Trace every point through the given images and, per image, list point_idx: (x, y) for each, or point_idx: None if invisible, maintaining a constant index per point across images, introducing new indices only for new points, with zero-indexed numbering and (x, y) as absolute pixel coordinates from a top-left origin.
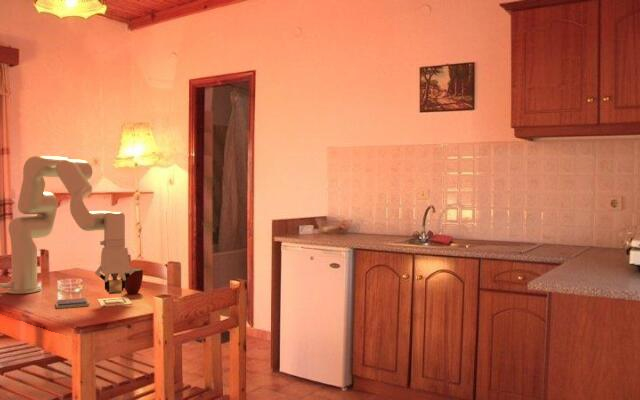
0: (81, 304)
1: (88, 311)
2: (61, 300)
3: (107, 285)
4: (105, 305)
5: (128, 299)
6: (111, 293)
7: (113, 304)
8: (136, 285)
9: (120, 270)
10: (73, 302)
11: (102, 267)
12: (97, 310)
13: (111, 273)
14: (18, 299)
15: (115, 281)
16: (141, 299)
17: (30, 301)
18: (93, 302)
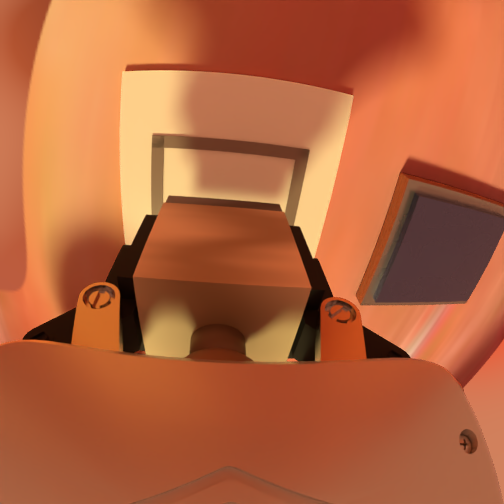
0: (439, 186)
1: (444, 30)
2: (464, 290)
3: (313, 261)
4: (325, 95)
5: (125, 224)
6: (262, 205)
7: (262, 97)
8: None
9: (110, 397)
10: (465, 219)
11: (484, 445)
12: (400, 13)
13: (318, 361)
14: (458, 378)
15: (224, 272)
16: (54, 211)
17: (464, 353)
18: (339, 259)
